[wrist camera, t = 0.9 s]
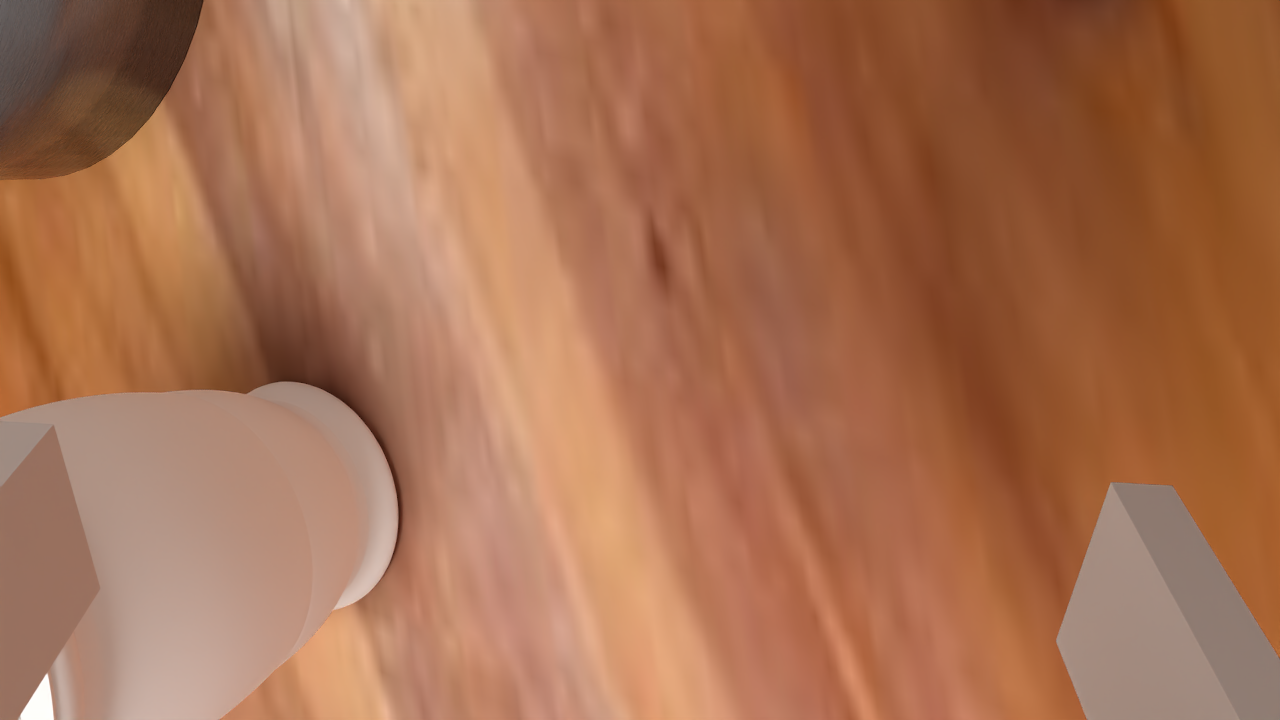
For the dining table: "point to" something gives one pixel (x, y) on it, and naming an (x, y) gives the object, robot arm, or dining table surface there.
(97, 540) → the jar
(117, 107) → the cylinder
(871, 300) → the dining table surface
